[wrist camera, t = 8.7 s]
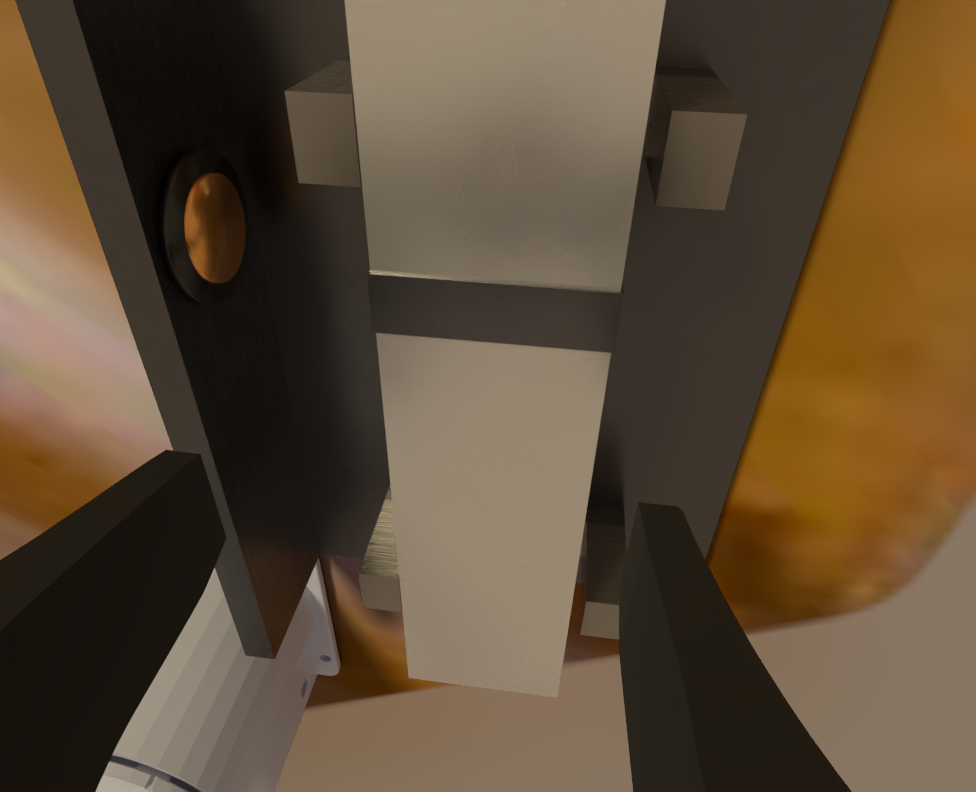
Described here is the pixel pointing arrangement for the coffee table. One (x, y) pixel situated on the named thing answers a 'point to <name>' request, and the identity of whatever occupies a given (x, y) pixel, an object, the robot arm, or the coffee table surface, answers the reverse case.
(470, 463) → the cream rectangular block
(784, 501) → the coffee table surface
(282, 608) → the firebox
